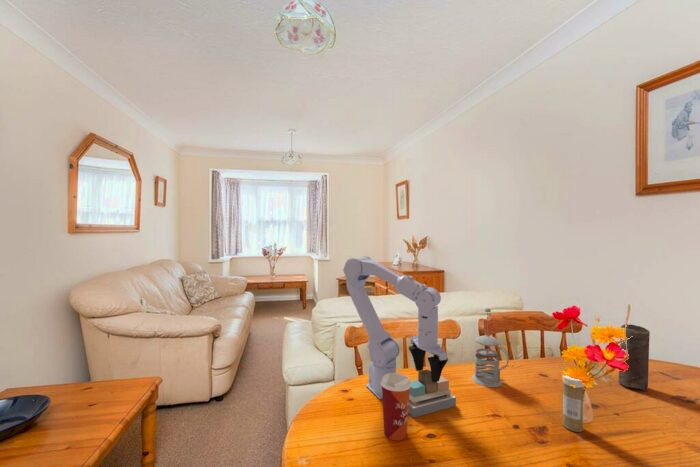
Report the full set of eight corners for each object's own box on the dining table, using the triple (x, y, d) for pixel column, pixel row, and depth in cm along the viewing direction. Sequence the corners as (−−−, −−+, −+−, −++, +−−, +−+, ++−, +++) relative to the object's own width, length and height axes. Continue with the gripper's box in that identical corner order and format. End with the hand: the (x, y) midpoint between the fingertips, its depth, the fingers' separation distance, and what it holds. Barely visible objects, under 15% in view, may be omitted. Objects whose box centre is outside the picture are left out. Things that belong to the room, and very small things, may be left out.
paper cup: (403, 447, 76) (404, 388, 76) (374, 436, 80) (375, 380, 80) (415, 430, 82) (416, 376, 82) (388, 421, 87) (388, 369, 86)
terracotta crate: (429, 385, 97) (429, 377, 97) (439, 382, 99) (439, 374, 99) (437, 391, 94) (438, 382, 94) (448, 388, 95) (448, 380, 95)
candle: (645, 385, 108) (646, 326, 108) (651, 394, 102) (652, 331, 102) (616, 379, 112) (617, 322, 112) (620, 388, 106) (621, 327, 106)
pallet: (403, 397, 94) (403, 373, 94) (439, 388, 100) (439, 366, 100) (413, 405, 90) (413, 380, 90) (450, 396, 95) (450, 372, 95)
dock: (398, 404, 95) (398, 395, 95) (439, 394, 101) (439, 385, 101) (413, 417, 88) (413, 408, 88) (455, 405, 94) (455, 397, 94)
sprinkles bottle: (586, 429, 84) (587, 377, 84) (578, 435, 81) (579, 382, 81) (566, 420, 87) (567, 371, 87) (558, 425, 85) (559, 375, 85)
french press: (475, 371, 118) (476, 303, 118) (510, 380, 111) (511, 308, 111) (468, 381, 110) (469, 308, 110) (505, 391, 103) (506, 314, 103)
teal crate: (405, 390, 94) (405, 382, 94) (416, 388, 96) (416, 379, 96) (413, 397, 90) (413, 388, 90) (425, 394, 92) (425, 385, 92)
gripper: (455, 335, 90) (455, 383, 90) (423, 321, 103) (423, 363, 103) (435, 338, 87) (434, 388, 87) (405, 324, 100) (404, 367, 100)
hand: (427, 375), depth 95 cm, fingers open, 7 cm apart
